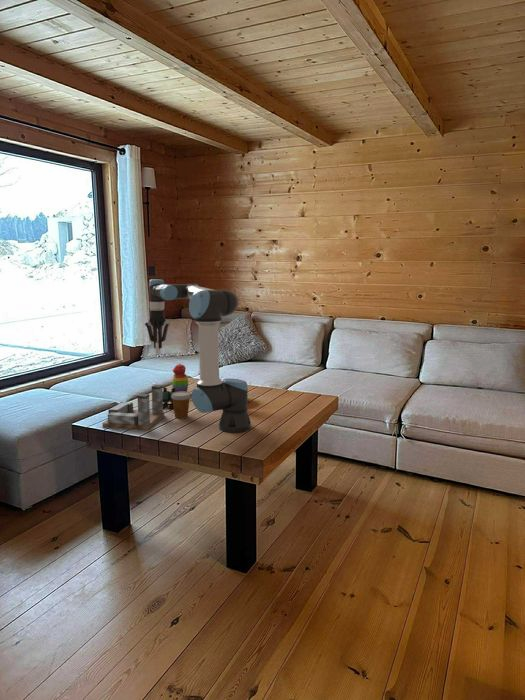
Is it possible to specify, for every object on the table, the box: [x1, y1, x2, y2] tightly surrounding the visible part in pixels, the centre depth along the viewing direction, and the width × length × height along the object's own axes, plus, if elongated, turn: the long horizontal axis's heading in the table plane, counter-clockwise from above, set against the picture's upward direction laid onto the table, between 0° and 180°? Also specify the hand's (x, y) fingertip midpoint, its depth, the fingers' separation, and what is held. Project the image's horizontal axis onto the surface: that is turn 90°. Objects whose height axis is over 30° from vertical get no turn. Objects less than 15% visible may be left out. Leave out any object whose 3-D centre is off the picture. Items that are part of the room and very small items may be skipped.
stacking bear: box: [171, 363, 189, 392], centre depth 282 cm, size 11×10×18 cm
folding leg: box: [107, 402, 130, 414], centre depth 237 cm, size 4×4×14 cm
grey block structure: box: [101, 384, 165, 431], centre depth 233 cm, size 23×22×16 cm
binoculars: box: [162, 386, 176, 410], centre depth 256 cm, size 9×11×10 cm
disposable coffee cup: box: [171, 391, 192, 420], centre depth 242 cm, size 10×10×12 cm
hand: (158, 354), depth 254 cm, fingers closed
